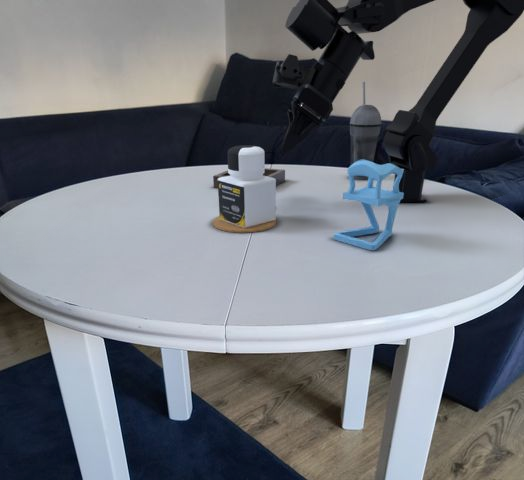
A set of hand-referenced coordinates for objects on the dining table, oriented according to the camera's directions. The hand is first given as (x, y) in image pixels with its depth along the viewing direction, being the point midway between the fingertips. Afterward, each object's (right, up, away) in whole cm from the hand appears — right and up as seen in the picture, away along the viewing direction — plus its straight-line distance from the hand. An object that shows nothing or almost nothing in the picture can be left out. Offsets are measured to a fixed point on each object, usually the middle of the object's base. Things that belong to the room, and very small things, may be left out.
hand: (282, 153), depth 86 cm
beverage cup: (+20, +6, +29) cm, 35 cm away
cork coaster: (-7, -13, -2) cm, 15 cm away
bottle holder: (-6, +3, +24) cm, 25 cm away
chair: (+13, -18, -10) cm, 24 cm away
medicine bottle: (-6, -13, -2) cm, 14 cm away
